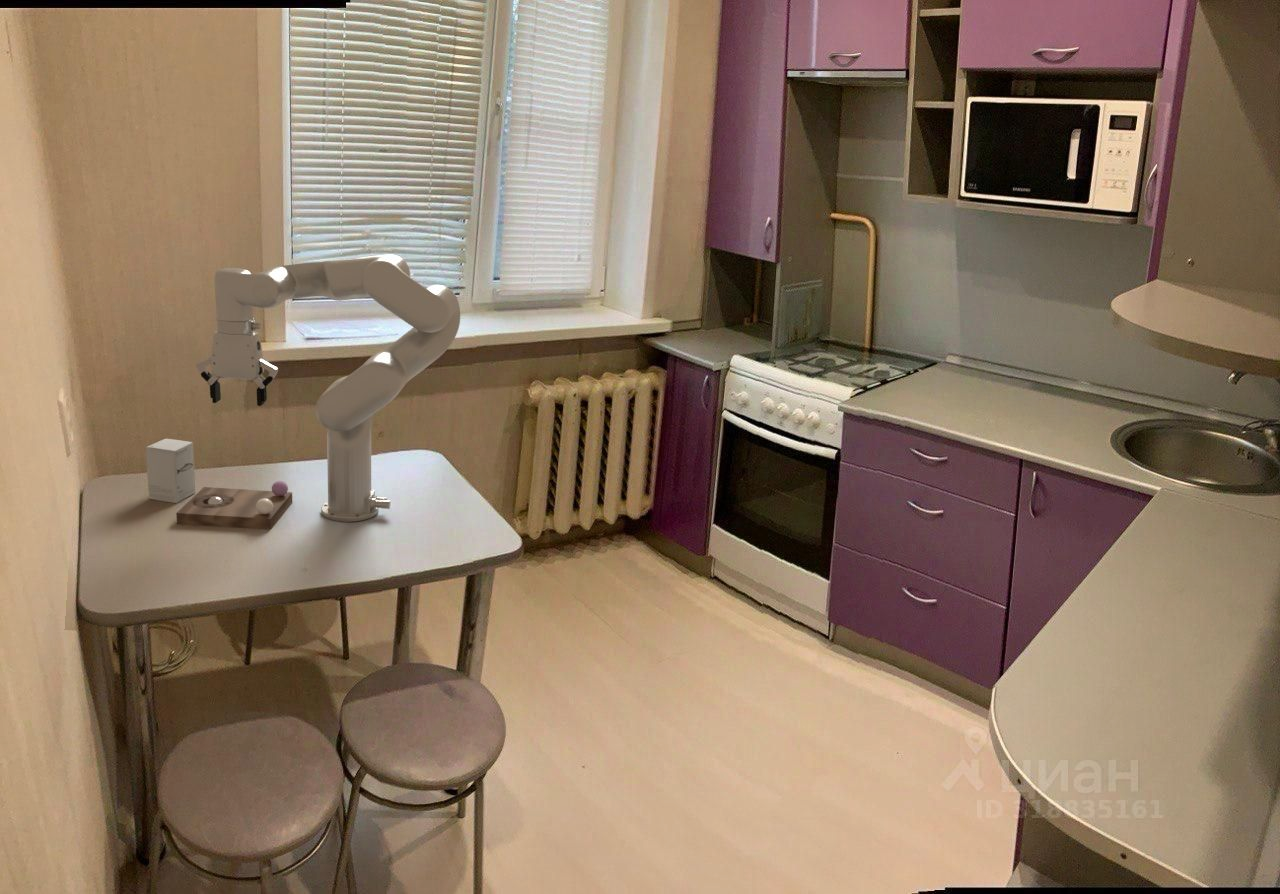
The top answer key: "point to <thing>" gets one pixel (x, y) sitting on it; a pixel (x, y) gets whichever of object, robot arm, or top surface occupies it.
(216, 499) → the steel ball
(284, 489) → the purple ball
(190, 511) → the board
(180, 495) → the supplement box
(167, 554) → the top surface
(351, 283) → the robot arm
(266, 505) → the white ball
